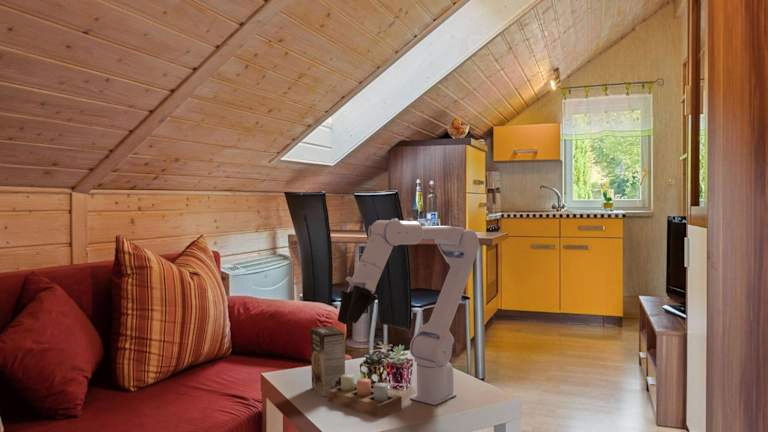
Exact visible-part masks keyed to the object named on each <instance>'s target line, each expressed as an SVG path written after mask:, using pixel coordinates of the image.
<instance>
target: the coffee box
mask: <svg viewBox="0 0 768 432" xmlns="http://www.w3.org/2000/svg"><path fill="white" fill-rule="evenodd" d="M345 336H346V335H345V332H344V331H342V330H340V329H339V328H336V327H334V326H333V325H330V326H318V327H311V328H310V352H311V354H310V355H311V356H310V361H311V388H313V389H314V390H315V391H316V392H317V393H318V394H320V395H321V396H322V397H324V398H325V397H328V390H331V389H334V388H337V387H340V386H341V376H342V375H345V374H346V347H345V345H346V339H345Z"/></svg>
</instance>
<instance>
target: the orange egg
mask: <svg viewBox="0 0 768 432" xmlns="http://www.w3.org/2000/svg"><path fill="white" fill-rule="evenodd" d="M356 384H357V396H360V397H363V398H365V397H368V396H370V395H371V388H372V380H371V379H370V378H367V377H365V378H364V377H363V378H359V379H357V380H356Z"/></svg>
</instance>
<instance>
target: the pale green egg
mask: <svg viewBox="0 0 768 432" xmlns="http://www.w3.org/2000/svg"><path fill="white" fill-rule="evenodd" d="M355 384H356V383H355V375H354V374H351V373H350V374H349V373H347V374H346V373H345V375H342V376H341V391H343V392H346V393H349V392H352V391H355Z"/></svg>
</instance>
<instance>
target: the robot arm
mask: <svg viewBox="0 0 768 432" xmlns="http://www.w3.org/2000/svg"><path fill="white" fill-rule="evenodd" d="M367 234H368V238H367V241H366V246H365V248H364V250H363V252H362V255H361V257H360V259H359V262H358V264H357V266H356V269H355V271H354V272H353V275H352V276H346V278H345V281H347V282H348V283H349V287H348V289H347V291H346V290H344V289H341V291H340V304H339V305H340V306H339V311H338V313H337V320H336V321H337V322H338V323H341V324H343V325H347V324H348V322H351V323H353V324H357V323H358V322H359V320H360V319H361V318H362V316H363V315H364V313H365V311H366V310H367V309H368V307H369V306H371V305H372V304H373V303H374V302H375V301H376V300H377V299H378V296H376V295H375V294H374V293H375V292H376V287H377V285H378V283H379V280H380V278H381V276H382V273H383V271H384V269H385V266H386V264H387V261H388V260H389V257H390V255H391V253H392V250H393V248H394V246H396V247H397V246H399V245H417V244H419V243H420V242H421V241H422V240H434V244H435V245H436V244H437V247H438V249H439V252H440V253H441V255H442V256H443V258H444V260H445V262H446V263H447V264H448V265H449V270H448V273H447V275H446V277H445V280H444V282H443V285H442V288H441V291H440V292H439V295H438V297H437V298H438V299H437V301H436V303H435V305H434V308H433V311H432V313H431V316H430V318H429V321H428V322H426V323H424V324H423V325H421V326H420V327H418V329H417V332H416V334H415V335H414V336H413V337H412V339H410V340H411V341H410V343H409V353H410V354H411V356H412V357H413V359H414V362H415V363H416V393H415V394H413V395H411V396H409V399H411V400H414V401H417V402H422V403H424V404H425V403H426V404H429V405H433V406H436V405H438V404H440V403H443V402H445V401H448V400H450V399H452V398H455V397H456V396H457V393H455V392H454V368H453V366H452V364H451V363H450V362H449V361H450V360H451V358H452V353H453V345H454V343H455V338H454V336H453V334H452V333H451V331H450V329H451V325H452V323H453V320H454V319H455V315H456V313H457V310H458V307H459V304H460V303H461V299H462V297H463V294H464V291H465V289H466V286H467V283H468V281H469V278H470V276H471V273H472V270H473V266H474V262H475V259H476V257H477V254H478V253H479V252H478V251H479V250H480V246H481V245H480V240H479V238H478V235H477V233H476V231H475V230H473V229H466V228H463V227H456V226H451V225H427V226H425V225H424V226H423V225H421V223H420V222H419V221H416V220H414V218H405V220H399V219H398V218H391V219H389V220H387V219H386V220H385V219H379V220H375V221H374V222H373V223H372V224H371V225H369V227H368V230H367Z"/></svg>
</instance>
